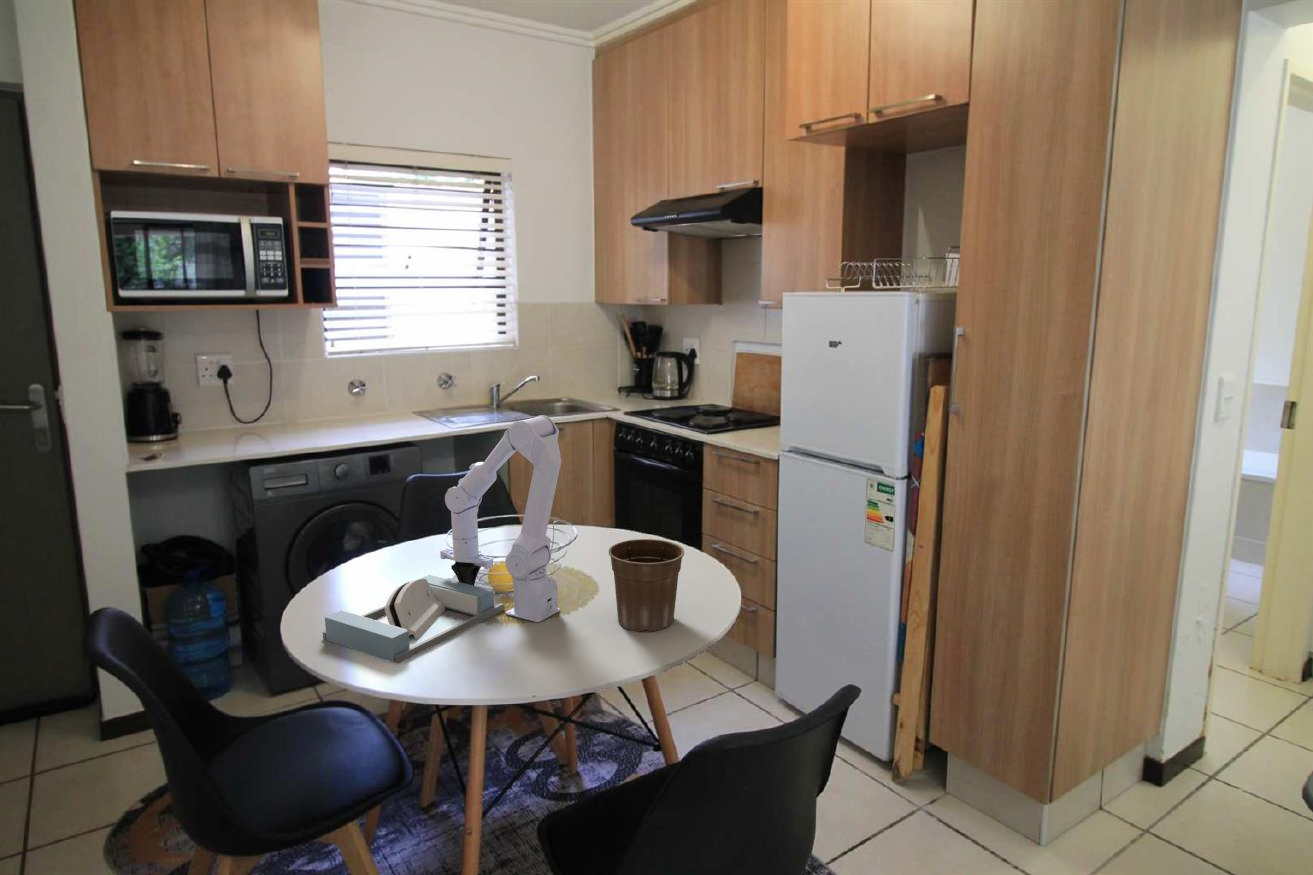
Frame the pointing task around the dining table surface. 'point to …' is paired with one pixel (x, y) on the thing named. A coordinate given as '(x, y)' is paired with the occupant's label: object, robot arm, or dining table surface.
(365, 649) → the vise
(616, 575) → the plant pot
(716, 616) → the dining table surface
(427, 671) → the dining table surface
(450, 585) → the block
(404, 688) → the dining table surface
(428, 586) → the hinge
